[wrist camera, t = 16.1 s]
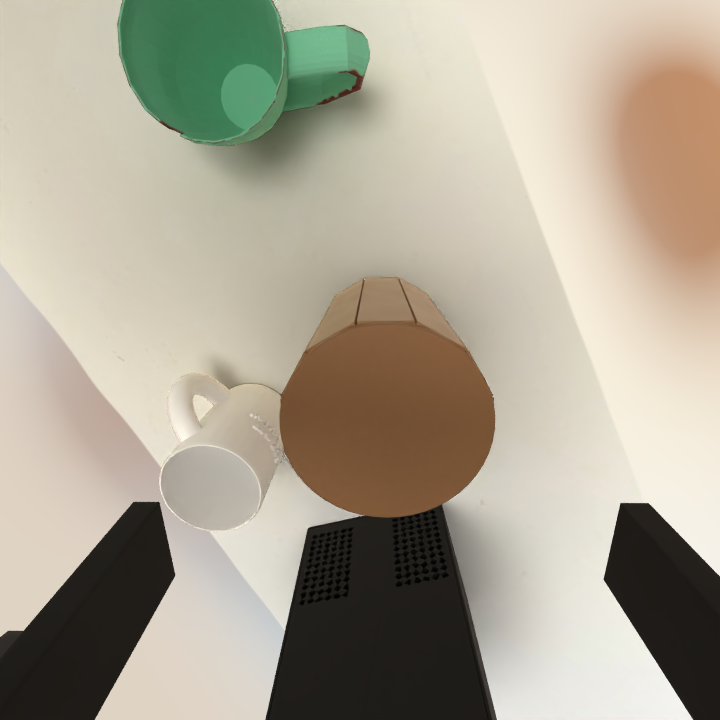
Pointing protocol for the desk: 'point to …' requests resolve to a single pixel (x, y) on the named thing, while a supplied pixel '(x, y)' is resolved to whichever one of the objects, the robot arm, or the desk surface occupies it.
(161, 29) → the mug
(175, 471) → the mug
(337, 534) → the gaming console
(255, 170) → the desk surface
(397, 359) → the round wooden block
